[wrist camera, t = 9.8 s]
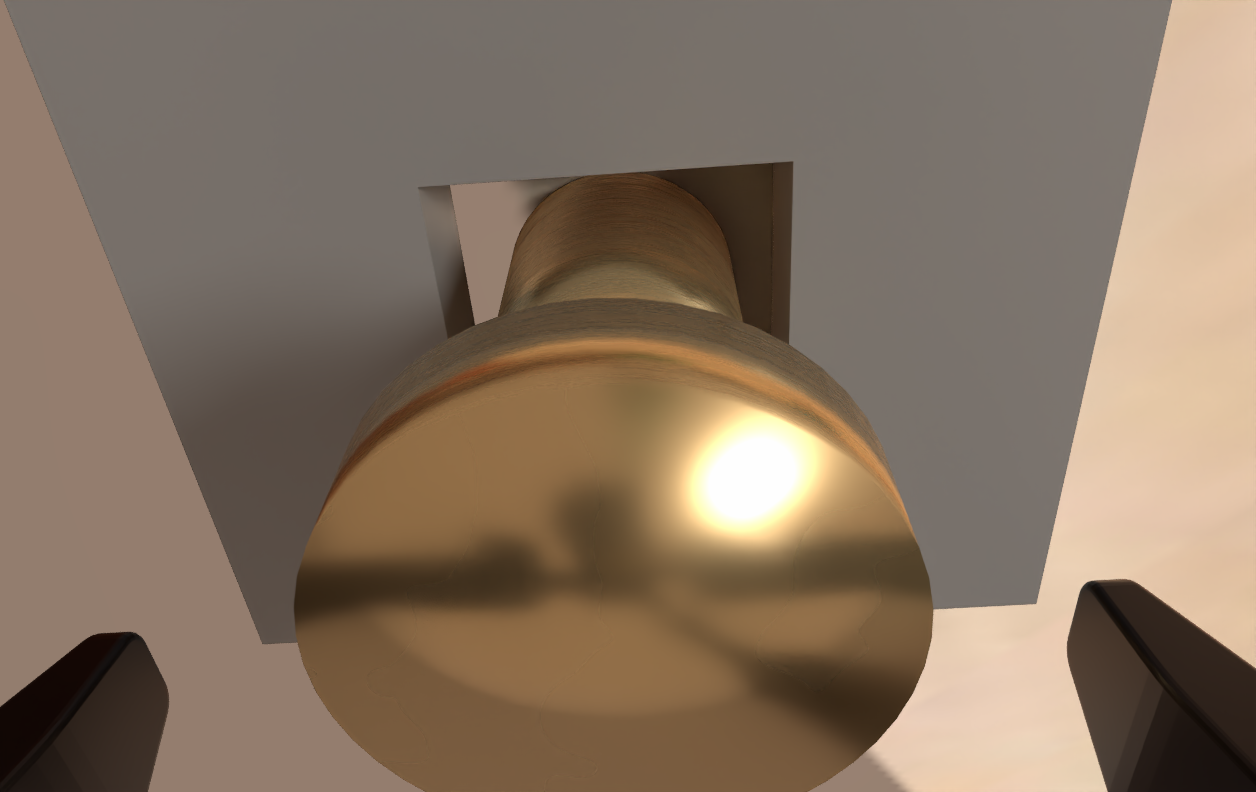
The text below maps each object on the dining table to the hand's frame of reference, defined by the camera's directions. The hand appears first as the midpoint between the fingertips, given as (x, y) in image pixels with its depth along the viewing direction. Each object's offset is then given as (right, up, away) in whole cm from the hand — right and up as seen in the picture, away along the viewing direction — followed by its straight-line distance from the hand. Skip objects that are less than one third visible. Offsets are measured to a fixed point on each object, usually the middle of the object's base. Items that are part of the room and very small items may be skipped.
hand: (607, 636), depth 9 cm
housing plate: (0, +4, +7) cm, 8 cm away
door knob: (0, +4, +7) cm, 8 cm away
